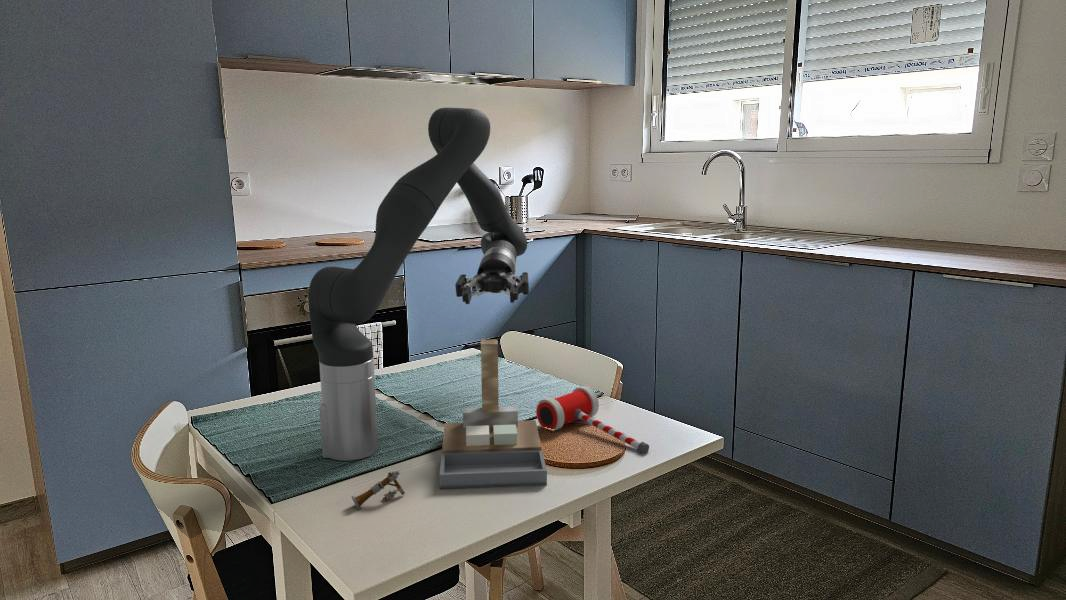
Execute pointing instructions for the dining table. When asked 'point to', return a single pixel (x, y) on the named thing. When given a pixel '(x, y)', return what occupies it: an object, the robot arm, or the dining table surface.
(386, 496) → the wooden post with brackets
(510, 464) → the tray
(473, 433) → the tile
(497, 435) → the tile
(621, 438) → the toy hammer
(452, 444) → the board
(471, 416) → the scraper
